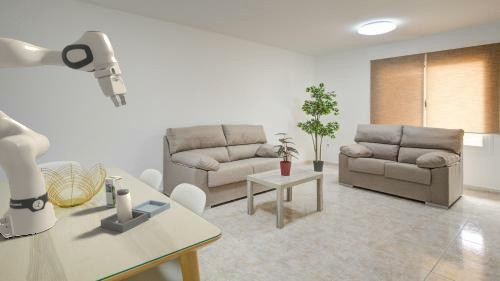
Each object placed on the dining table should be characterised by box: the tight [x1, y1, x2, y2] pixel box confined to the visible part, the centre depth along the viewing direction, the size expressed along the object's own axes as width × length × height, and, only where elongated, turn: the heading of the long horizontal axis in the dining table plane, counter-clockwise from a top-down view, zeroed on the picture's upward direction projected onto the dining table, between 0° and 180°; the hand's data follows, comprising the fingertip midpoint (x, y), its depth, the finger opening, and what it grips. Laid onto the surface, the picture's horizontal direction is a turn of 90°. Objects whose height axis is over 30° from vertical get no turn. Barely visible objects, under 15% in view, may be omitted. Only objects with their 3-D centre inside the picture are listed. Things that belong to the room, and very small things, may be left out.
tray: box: [131, 199, 171, 218], centre depth 128 cm, size 13×13×2 cm
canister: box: [116, 188, 133, 224], centre depth 114 cm, size 6×6×14 cm
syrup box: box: [104, 175, 124, 208], centre depth 135 cm, size 6×6×14 cm
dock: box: [100, 210, 150, 234], centre depth 114 cm, size 13×13×3 cm
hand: (121, 105), depth 113 cm, fingers open, 8 cm apart
